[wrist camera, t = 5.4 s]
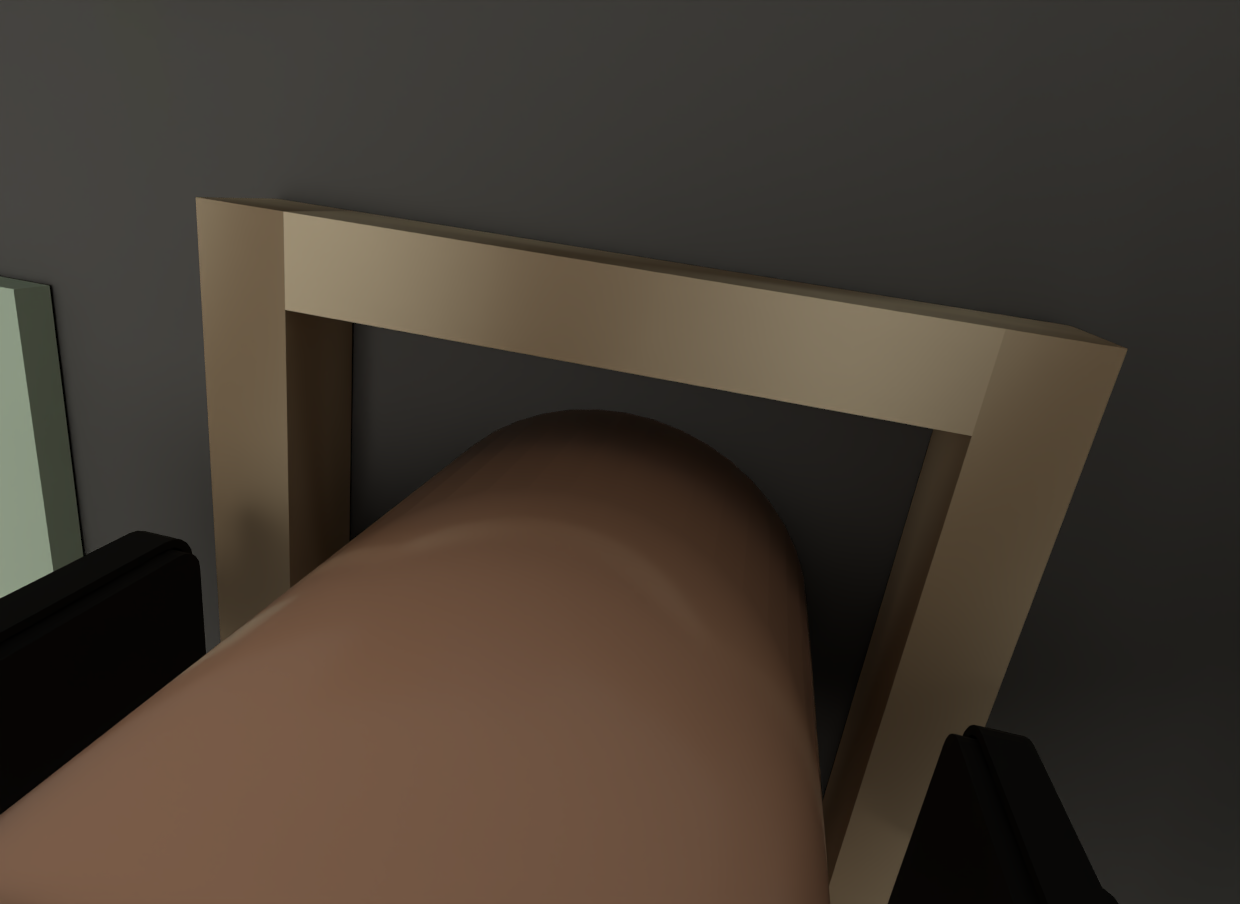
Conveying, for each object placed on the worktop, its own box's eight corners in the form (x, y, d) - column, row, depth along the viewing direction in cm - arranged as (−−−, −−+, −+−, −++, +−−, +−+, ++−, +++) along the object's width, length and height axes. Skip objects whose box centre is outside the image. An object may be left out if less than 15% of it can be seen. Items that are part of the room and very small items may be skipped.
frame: (1069, 326, 9) (1128, 348, 8) (855, 943, 13) (865, 1042, 11) (277, 198, 11) (196, 196, 9) (289, 782, 14) (232, 849, 13)
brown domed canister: (726, 950, 13) (664, 1877, 6) (400, 856, 14) (-6, 1557, 7) (852, 454, 10) (1058, 1133, 3) (419, 374, 11) (-317, 718, 4)
